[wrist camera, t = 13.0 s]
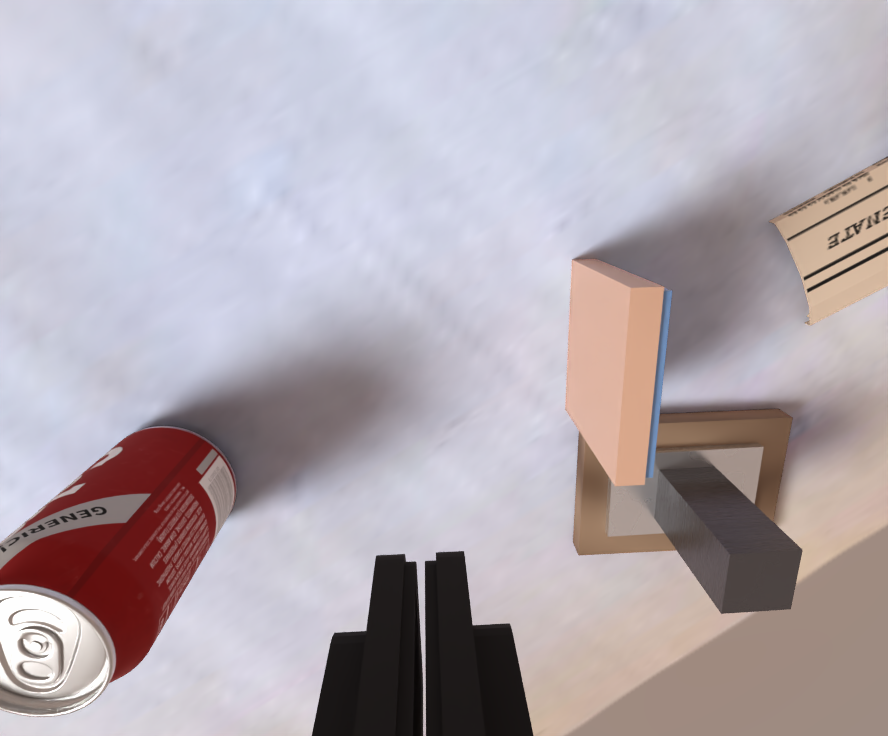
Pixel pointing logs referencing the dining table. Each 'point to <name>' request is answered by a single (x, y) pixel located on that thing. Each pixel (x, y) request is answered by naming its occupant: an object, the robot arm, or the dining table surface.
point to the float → (713, 524)
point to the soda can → (106, 567)
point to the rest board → (680, 432)
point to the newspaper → (841, 241)
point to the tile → (617, 366)
